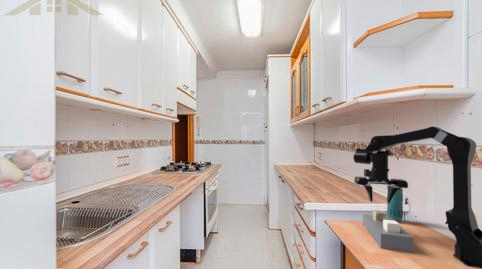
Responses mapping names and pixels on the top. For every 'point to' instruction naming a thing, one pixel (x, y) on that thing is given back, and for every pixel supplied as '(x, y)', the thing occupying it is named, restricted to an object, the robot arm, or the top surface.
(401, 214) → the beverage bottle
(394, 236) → the collar block
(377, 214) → the birch peg
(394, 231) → the white peg
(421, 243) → the top surface
